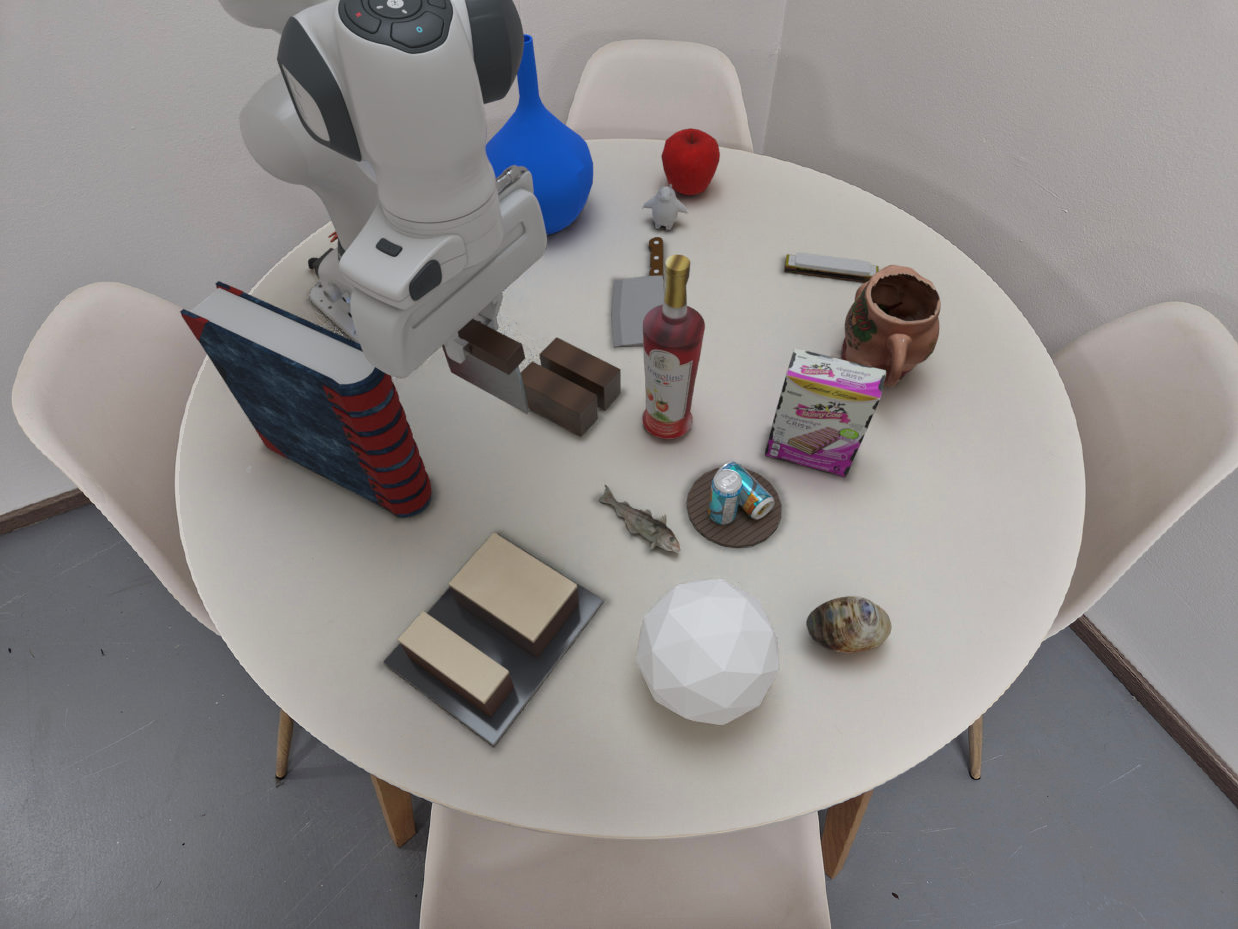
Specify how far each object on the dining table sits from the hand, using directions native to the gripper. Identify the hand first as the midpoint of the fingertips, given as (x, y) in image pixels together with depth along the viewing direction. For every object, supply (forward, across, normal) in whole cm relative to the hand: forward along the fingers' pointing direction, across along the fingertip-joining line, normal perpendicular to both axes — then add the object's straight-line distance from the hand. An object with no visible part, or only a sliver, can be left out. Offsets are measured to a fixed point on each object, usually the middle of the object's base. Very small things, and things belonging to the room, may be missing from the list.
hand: (473, 344), depth 71 cm
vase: (+31, -50, -34) cm, 68 cm away
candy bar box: (+31, -30, +26) cm, 51 cm away
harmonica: (+31, -65, +13) cm, 73 cm away
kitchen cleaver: (+31, -44, -9) cm, 55 cm away
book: (+31, +6, -22) cm, 39 cm away
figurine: (+31, -61, -16) cm, 70 cm away
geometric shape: (+31, +4, +30) cm, 43 cm away
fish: (+31, -9, +14) cm, 35 cm away
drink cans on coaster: (+31, -17, +22) cm, 42 cm away
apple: (+31, -71, -17) cm, 79 cm away
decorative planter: (+31, -49, +28) cm, 64 cm away
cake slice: (+30, +19, +8) cm, 37 cm away
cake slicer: (+7, 0, 0) cm, 7 cm away
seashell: (+31, -8, +41) cm, 52 cm away
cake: (+31, +13, +8) cm, 35 cm away
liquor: (+31, -24, +8) cm, 40 cm away
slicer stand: (+31, -20, -6) cm, 37 cm away
